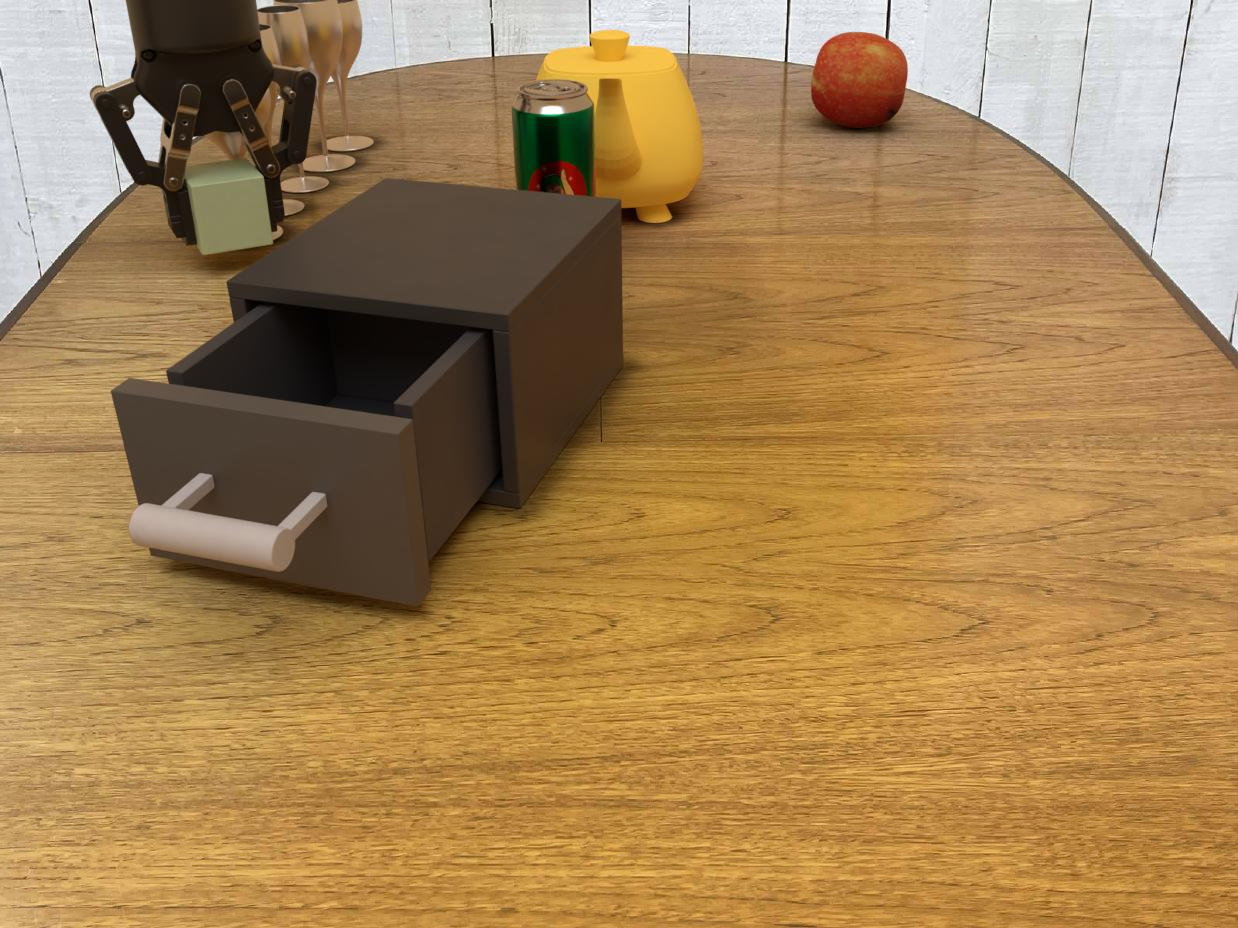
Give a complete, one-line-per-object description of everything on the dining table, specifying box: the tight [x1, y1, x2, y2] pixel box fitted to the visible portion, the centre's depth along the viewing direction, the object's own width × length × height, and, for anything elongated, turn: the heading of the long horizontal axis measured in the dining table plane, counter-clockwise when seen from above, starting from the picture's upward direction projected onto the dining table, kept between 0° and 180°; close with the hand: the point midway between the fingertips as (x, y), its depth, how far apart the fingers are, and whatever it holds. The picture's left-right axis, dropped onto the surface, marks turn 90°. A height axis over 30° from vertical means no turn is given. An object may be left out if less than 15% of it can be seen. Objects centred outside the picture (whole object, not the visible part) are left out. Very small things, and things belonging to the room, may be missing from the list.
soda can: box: [510, 79, 596, 197], centre depth 79 cm, size 5×5×12 cm
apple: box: [810, 31, 909, 129], centre depth 109 cm, size 8×8×8 cm
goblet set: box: [203, 0, 375, 242], centre depth 95 cm, size 28×6×13 cm, turn 173°
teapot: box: [535, 29, 704, 224], centre depth 90 cm, size 13×20×12 cm
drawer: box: [110, 302, 502, 607], centre depth 53 cm, size 19×12×8 cm, turn 162°
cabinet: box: [226, 177, 624, 509], centre depth 63 cm, size 16×14×10 cm
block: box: [184, 157, 274, 256], centre depth 82 cm, size 5×5×5 cm
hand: (229, 234), depth 83 cm, fingers closed on block, 4 cm apart
